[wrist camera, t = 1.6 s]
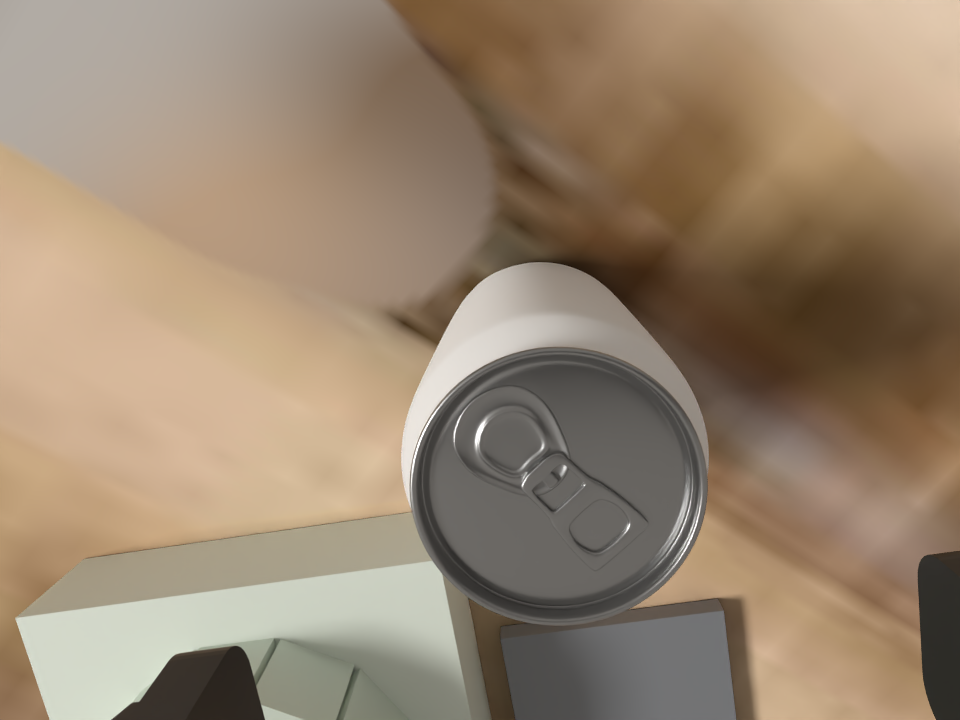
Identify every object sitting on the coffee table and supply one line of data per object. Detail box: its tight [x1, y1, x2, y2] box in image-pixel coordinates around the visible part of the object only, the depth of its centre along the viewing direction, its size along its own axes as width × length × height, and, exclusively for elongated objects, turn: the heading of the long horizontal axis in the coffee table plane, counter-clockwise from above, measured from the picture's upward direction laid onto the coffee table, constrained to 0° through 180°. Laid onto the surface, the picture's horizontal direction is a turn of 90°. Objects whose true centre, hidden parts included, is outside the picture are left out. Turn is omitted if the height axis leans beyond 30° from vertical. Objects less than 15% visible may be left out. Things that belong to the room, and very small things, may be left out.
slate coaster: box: [500, 599, 736, 720], centre depth 28 cm, size 8×8×1 cm
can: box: [401, 262, 709, 626], centre depth 20 cm, size 6×6×12 cm
